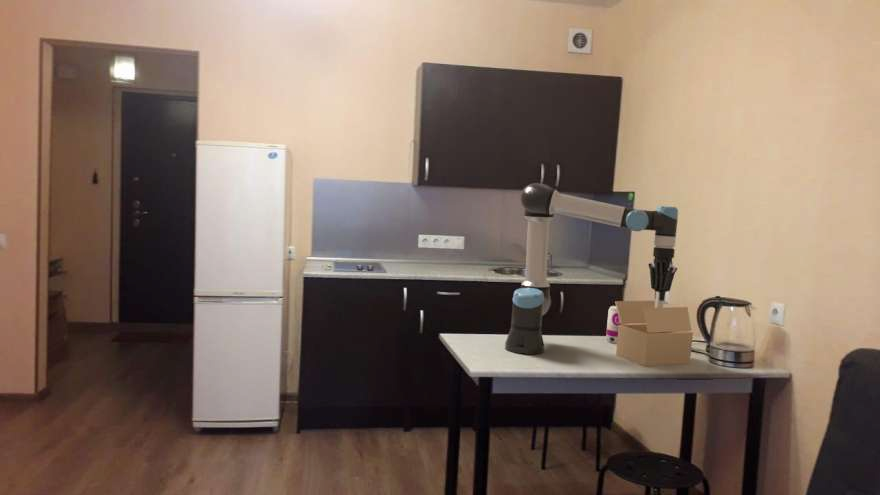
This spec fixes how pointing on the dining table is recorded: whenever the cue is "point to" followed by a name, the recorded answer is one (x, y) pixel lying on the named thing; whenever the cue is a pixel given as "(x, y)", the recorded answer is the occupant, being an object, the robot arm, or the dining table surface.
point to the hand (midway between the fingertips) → (658, 308)
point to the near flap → (667, 319)
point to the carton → (653, 346)
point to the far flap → (633, 311)
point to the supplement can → (612, 325)
